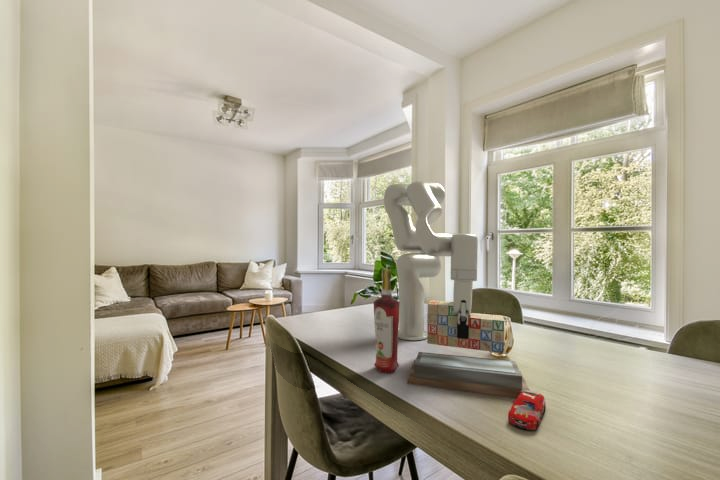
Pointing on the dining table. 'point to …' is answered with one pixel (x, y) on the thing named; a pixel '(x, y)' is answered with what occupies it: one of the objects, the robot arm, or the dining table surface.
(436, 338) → the stack of blocks
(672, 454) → the dining table surface
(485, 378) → the build plinth
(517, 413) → the race car
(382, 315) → the liquor
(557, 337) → the dining table surface
